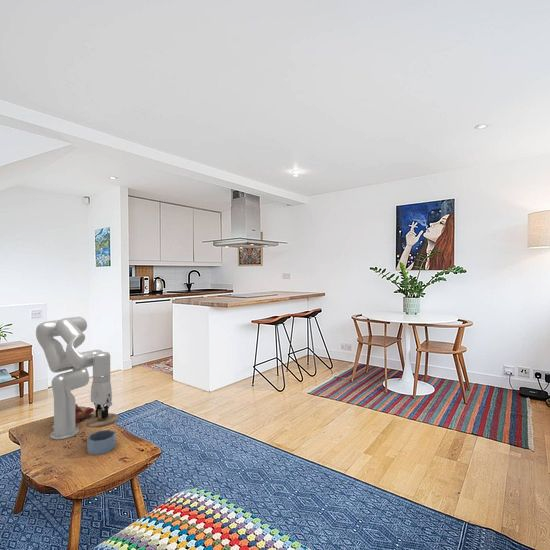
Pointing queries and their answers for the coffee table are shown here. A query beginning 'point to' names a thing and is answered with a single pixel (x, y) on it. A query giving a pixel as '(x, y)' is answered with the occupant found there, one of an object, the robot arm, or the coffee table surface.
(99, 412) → the lid
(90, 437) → the bowl
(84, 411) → the anatomical model
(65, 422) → the robot arm
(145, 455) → the coffee table surface
